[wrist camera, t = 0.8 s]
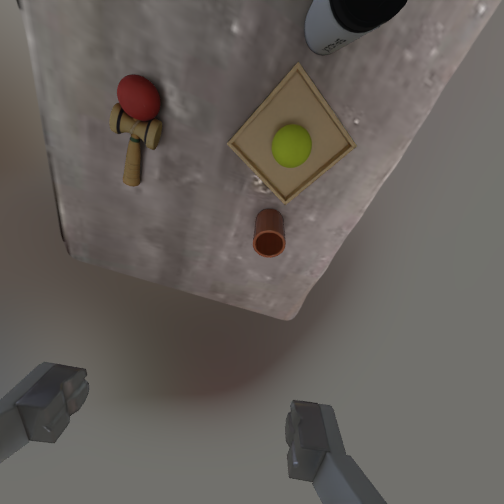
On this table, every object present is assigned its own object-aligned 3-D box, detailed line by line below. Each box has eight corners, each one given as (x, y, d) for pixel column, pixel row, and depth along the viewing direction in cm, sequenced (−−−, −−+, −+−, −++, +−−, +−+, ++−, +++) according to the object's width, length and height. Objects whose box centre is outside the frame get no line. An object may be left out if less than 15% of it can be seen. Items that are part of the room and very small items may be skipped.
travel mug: (333, -26, 29) (413, -169, 13) (360, 27, 32) (453, -36, 15) (293, 21, 32) (316, -47, 16) (320, 66, 34) (364, 49, 18)
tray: (297, 63, 34) (298, 61, 32) (352, 143, 40) (357, 146, 38) (228, 141, 41) (226, 143, 39) (284, 200, 47) (285, 205, 45)
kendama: (160, 185, 48) (176, 90, 36) (140, 198, 43) (151, 93, 32) (127, 166, 48) (132, 63, 36) (103, 177, 43) (100, 63, 31)
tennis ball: (292, 112, 37) (296, 116, 32) (316, 143, 40) (323, 151, 35) (263, 142, 40) (262, 150, 35) (287, 169, 43) (289, 181, 38)
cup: (270, 203, 47) (270, 224, 40) (289, 222, 50) (292, 245, 42) (249, 220, 50) (246, 243, 43) (268, 237, 52) (268, 262, 45)
